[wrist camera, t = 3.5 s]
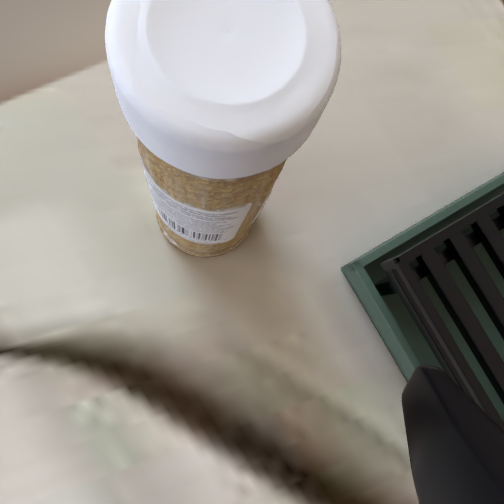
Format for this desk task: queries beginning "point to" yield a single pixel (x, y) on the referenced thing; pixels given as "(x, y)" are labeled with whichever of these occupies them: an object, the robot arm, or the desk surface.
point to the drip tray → (428, 291)
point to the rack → (456, 296)
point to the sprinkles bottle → (219, 103)
